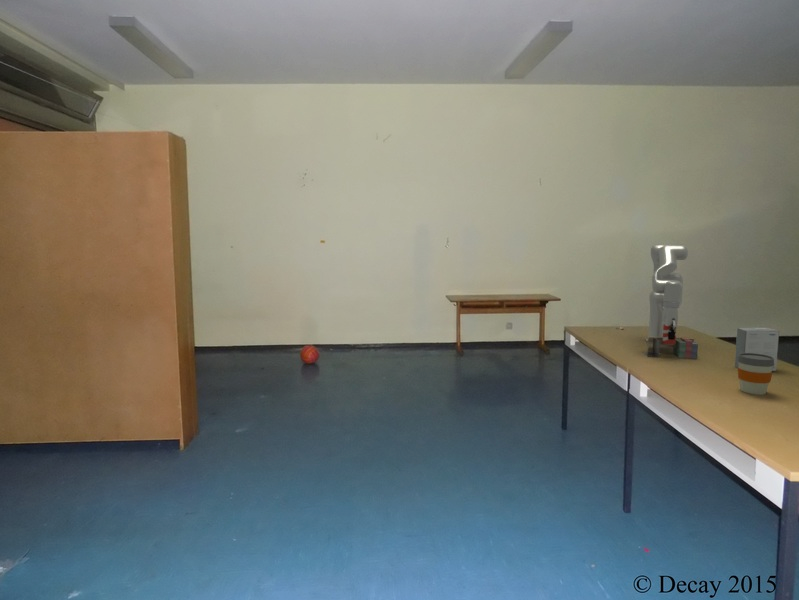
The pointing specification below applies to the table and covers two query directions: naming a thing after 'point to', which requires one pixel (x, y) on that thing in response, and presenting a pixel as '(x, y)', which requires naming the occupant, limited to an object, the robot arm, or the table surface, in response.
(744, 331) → the hard drive box
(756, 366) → the reusable coffee cup
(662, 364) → the table surface
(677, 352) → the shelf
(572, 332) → the table surface
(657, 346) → the bookend
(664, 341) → the beverage can
